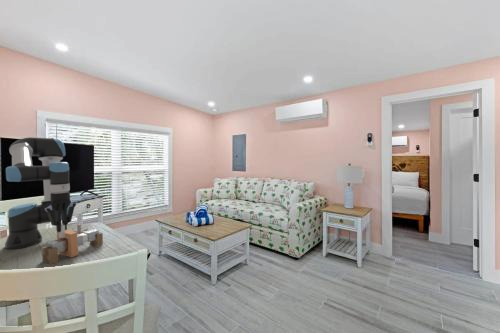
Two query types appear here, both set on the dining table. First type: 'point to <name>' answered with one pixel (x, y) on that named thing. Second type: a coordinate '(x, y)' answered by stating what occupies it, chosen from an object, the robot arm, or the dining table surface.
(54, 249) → the stand
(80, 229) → the pipe connector
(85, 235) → the grey long bar
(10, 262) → the dining table surface
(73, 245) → the peach rectangular loop
